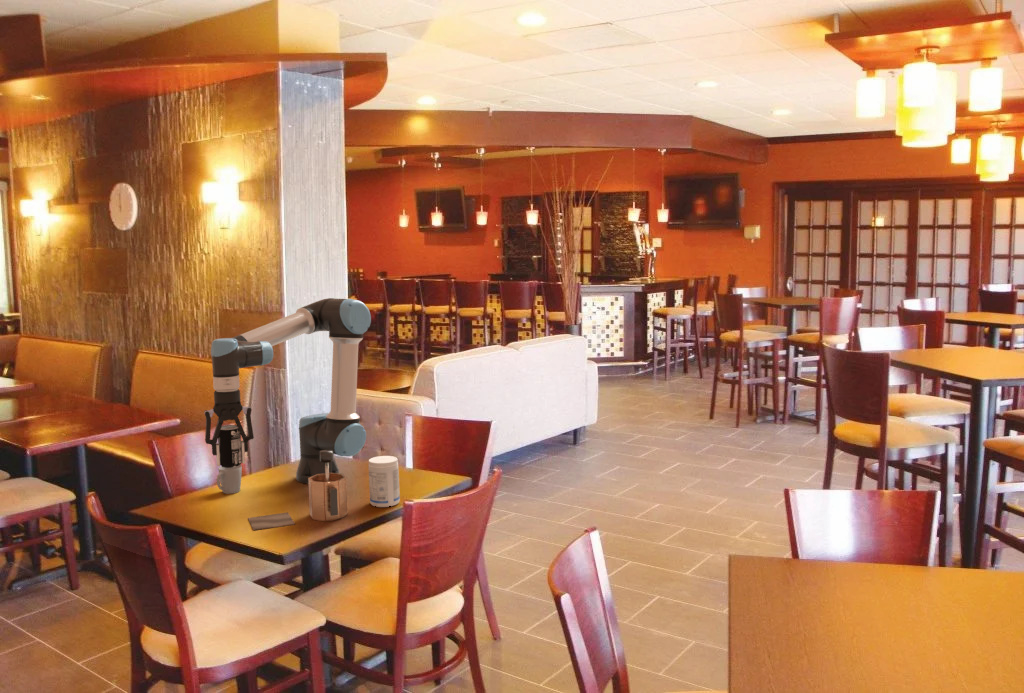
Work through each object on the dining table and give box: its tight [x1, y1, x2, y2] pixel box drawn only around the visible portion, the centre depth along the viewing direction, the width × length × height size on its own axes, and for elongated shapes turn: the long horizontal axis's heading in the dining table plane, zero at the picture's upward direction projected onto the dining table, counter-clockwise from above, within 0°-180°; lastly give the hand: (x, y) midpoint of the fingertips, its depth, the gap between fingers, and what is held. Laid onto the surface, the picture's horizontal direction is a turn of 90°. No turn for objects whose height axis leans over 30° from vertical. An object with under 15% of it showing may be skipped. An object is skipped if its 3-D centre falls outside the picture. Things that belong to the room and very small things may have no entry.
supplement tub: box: [367, 455, 401, 508], centre depth 271 cm, size 10×10×15 cm
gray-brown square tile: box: [247, 512, 296, 532], centre depth 255 cm, size 12×12×1 cm
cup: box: [216, 464, 243, 495], centre depth 285 cm, size 8×10×8 cm
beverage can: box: [217, 424, 243, 468], centre depth 257 cm, size 7×7×12 cm
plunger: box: [320, 450, 333, 482], centre depth 259 cm, size 8×8×17 cm
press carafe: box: [307, 472, 349, 522], centre depth 258 cm, size 14×11×12 cm
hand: (230, 463), depth 258 cm, fingers closed on beverage can, 7 cm apart
